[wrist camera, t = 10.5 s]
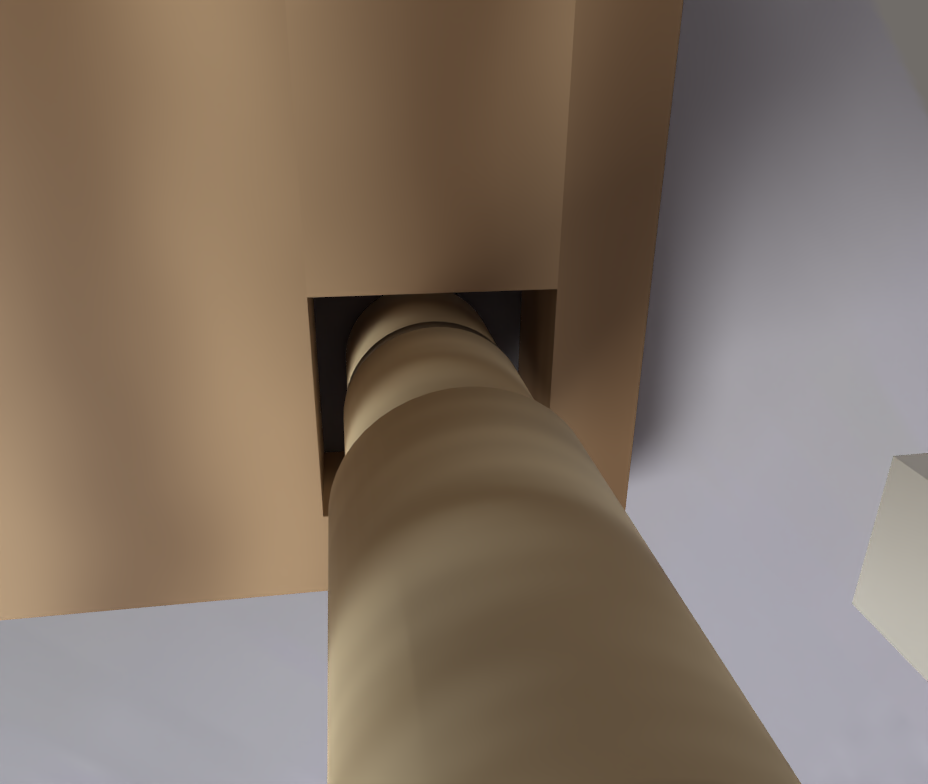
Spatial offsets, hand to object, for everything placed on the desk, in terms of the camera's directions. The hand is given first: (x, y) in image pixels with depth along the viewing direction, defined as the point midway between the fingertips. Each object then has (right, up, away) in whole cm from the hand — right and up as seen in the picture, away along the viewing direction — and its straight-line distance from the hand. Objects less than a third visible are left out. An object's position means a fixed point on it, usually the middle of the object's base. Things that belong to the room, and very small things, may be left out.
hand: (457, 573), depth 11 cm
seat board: (-4, +5, +7) cm, 10 cm away
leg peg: (-1, +3, +8) cm, 9 cm away
